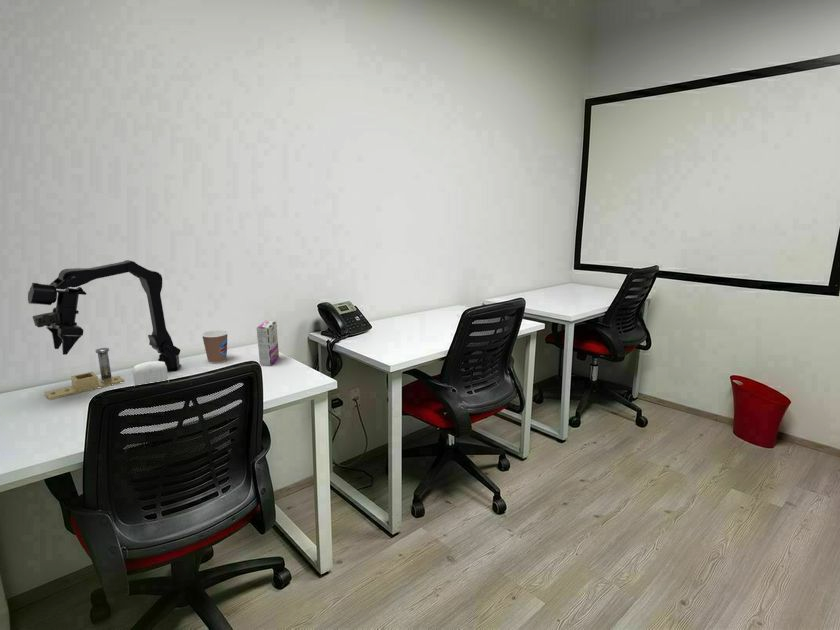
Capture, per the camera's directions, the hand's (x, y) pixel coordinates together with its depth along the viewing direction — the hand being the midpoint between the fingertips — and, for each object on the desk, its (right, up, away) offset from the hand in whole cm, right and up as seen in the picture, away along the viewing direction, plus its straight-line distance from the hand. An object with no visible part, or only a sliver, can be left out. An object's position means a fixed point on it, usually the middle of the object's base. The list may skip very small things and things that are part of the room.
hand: (60, 351), depth 164 cm
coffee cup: (+37, -7, +40) cm, 54 cm away
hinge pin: (+4, -12, +18) cm, 22 cm away
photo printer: (+30, -16, +3) cm, 34 cm away
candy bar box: (+59, -7, +39) cm, 71 cm away
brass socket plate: (+2, -14, +9) cm, 17 cm away
